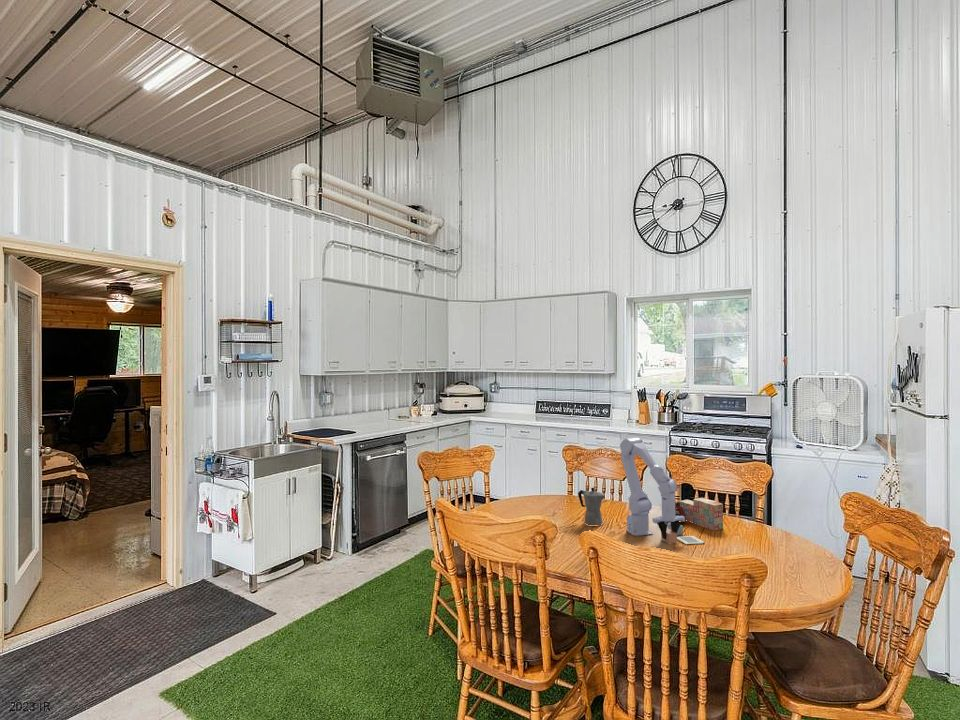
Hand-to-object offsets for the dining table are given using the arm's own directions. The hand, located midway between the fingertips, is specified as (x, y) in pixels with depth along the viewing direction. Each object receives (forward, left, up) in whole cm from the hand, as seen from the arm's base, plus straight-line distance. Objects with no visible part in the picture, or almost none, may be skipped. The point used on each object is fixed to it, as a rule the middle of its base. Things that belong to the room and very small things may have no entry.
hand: (669, 538), depth 224 cm
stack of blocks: (+29, +20, -2) cm, 35 cm away
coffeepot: (-24, +32, -2) cm, 39 cm away
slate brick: (+8, +9, -2) cm, 12 cm away
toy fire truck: (+17, +26, -2) cm, 31 cm away
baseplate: (+9, -1, -1) cm, 9 cm away
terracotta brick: (0, 0, -1) cm, 1 cm away
